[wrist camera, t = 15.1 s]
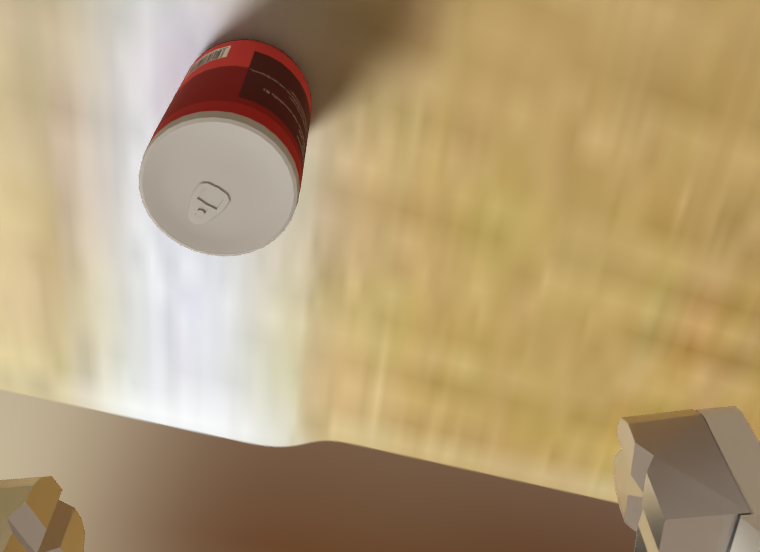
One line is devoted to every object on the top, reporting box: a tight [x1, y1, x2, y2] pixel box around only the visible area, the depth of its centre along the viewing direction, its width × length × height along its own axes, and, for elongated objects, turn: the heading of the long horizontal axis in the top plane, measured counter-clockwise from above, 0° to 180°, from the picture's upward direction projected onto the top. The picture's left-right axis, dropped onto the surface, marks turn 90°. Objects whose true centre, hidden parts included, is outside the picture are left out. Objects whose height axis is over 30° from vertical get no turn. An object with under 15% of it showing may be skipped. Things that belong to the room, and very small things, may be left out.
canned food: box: [139, 40, 312, 256], centre depth 38 cm, size 8×8×11 cm
